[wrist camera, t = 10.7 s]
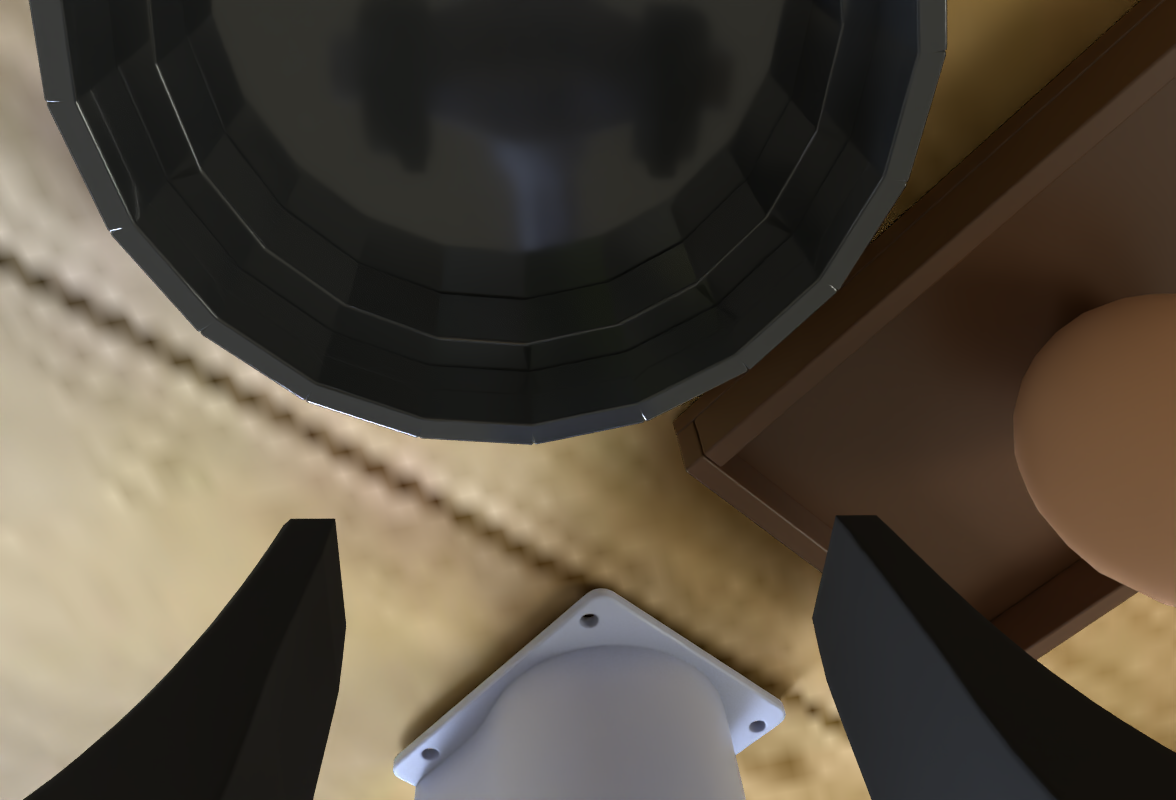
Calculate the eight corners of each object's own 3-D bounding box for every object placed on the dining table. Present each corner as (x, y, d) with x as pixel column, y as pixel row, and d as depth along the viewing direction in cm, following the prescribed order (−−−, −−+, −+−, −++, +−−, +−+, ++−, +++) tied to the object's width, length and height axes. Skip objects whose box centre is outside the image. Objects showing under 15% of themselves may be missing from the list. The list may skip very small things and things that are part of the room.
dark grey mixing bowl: (536, 436, 25) (543, 556, 22) (-20, 42, 20) (-145, 113, 16) (1005, -13, 20) (1120, 41, 17) (446, -719, 15) (428, -882, 11)
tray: (956, 641, 31) (984, 695, 29) (671, 421, 26) (684, 471, 24) (1493, 266, 25) (1569, 306, 23) (1263, -111, 20) (1337, -97, 18)
